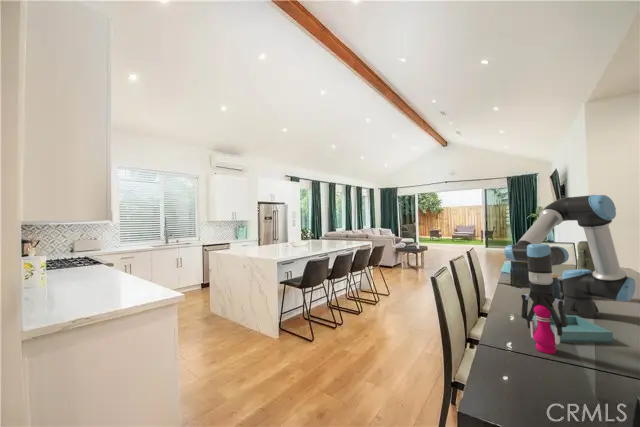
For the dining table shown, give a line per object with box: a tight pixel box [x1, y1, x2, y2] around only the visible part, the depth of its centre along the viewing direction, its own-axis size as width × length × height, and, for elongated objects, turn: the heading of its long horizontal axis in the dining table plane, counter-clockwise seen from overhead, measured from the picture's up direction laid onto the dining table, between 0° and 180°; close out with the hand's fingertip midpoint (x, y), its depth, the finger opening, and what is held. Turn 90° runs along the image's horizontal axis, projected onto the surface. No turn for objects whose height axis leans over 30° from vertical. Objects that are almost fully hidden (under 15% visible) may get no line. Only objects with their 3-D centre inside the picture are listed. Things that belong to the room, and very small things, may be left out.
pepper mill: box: [533, 305, 557, 355], centre depth 111 cm, size 7×7×20 cm
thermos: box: [576, 240, 600, 301], centre depth 173 cm, size 9×12×35 cm
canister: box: [552, 272, 562, 300], centre depth 177 cm, size 13×13×18 cm
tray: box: [532, 314, 614, 344], centre depth 125 cm, size 20×20×4 cm
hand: (545, 339), depth 111 cm, fingers closed on pepper mill, 7 cm apart
